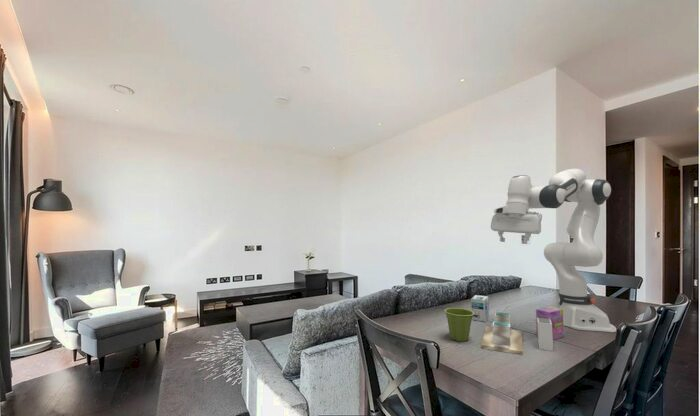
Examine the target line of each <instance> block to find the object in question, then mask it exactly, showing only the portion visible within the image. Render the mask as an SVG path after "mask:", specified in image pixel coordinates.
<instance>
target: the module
mask: <svg viewBox="0 0 700 416" xmlns="http://www.w3.org/2000/svg"><path fill="white" fill-rule="evenodd" d="M537 330H538V337H537V344H538V349H539V350H545V351H550V352H553V351H554V340H553V336H552V323H551V320H550V319H545V318H537V324H536V331H537Z"/></svg>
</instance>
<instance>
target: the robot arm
mask: <svg viewBox="0 0 700 416" xmlns="http://www.w3.org/2000/svg"><path fill="white" fill-rule="evenodd" d="M531 179H532V178H531V176H529V175H523V174H522V175H516V176H512V177H511V178H510V180H509V183H508V186H507V187H508V188H507V194H506V195H507V201H506V203H505V205H503V206H500V207H497V208H495V209H494V210H493V213H494V215H493V216H492V218H491V220H490V221H491V222H490V230H492V231H493V232H497V234H498V236H499V242H500V243H505V242H506V237H504V236H503V235H504V233H514V234H515V233H517V234H524V236H525V237H523V238H522V239H521V244H523V245H527V244H528V241H529V240H530V239H531V238H532V237H531V236H532V235H533V234H534V235H539V234H541V232H542V219H543V215H542V213H541V212H539V211H529V209H531V210H532V209H559V208H560V207H561V206H562V205H563V204H564V202H568V203H573V202H574V203H577V205H576V207H575V209H573V212H572V214H571V216H570V219H569V222H568V224H567V227H566V232H567V234H568V236H570V237H571V238H573V239H572V242H558V241H556V242H551V243H548V244H546V246H545V247H544V249H543V256H544V258H545V259H546V260H547V261H548V262H549V263H550V264H551V266H552V267H553V269H554V270H555V272H556V275H557V278H558V290H559V292H558V295H557V296H558V297H557V298H558V305H559V307H558V308H561V309H563V323H564V327H568V328H571V329H574V330H580V331H591V332H593V331H594V332H605V333H616V332H617V331H616V330H617V328H616V325H613V324H611V323H610V319H609V317H608V314H607V313H606V312H604V311H603V310H601V308H599V307H597V306H596V305H595V304H596V298H594V297H591V296H589V295H588V281H587V279H586V277H585V276H584V275H582V274H581V273H579V272H578V270H577V269H576V267H580V268H581V267H582V268H583V267H584V268H588V267H590V268H591V267H598V266H599V265H600V264H601V263H602V261H603V258H604V254H603V251H602V249H601V248H600V247H599V246H598V245H597V244H596V243H595V239H594V237H595V232H596V229H597V225H598V223H599V220H600V217H601V216H600V215H601V207H600V206H601V205H603V204H604V203H605V202H606V201H607V200H608V199H609V197H610V196H611V194H612V186H611V184H610V182H609V181H608V180H606V179H600V178H596V179H587V174H586V173H585V172H584V171H583V170H582V169H580V168H576V167H575V168H568V169H565V170H562V171H560V172H559V171H558V172H557V173H556V174H554V175H553V176H551V177H550V178H549V180H548V185H540V186H535V185H533V183H532V180H531Z"/></svg>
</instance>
